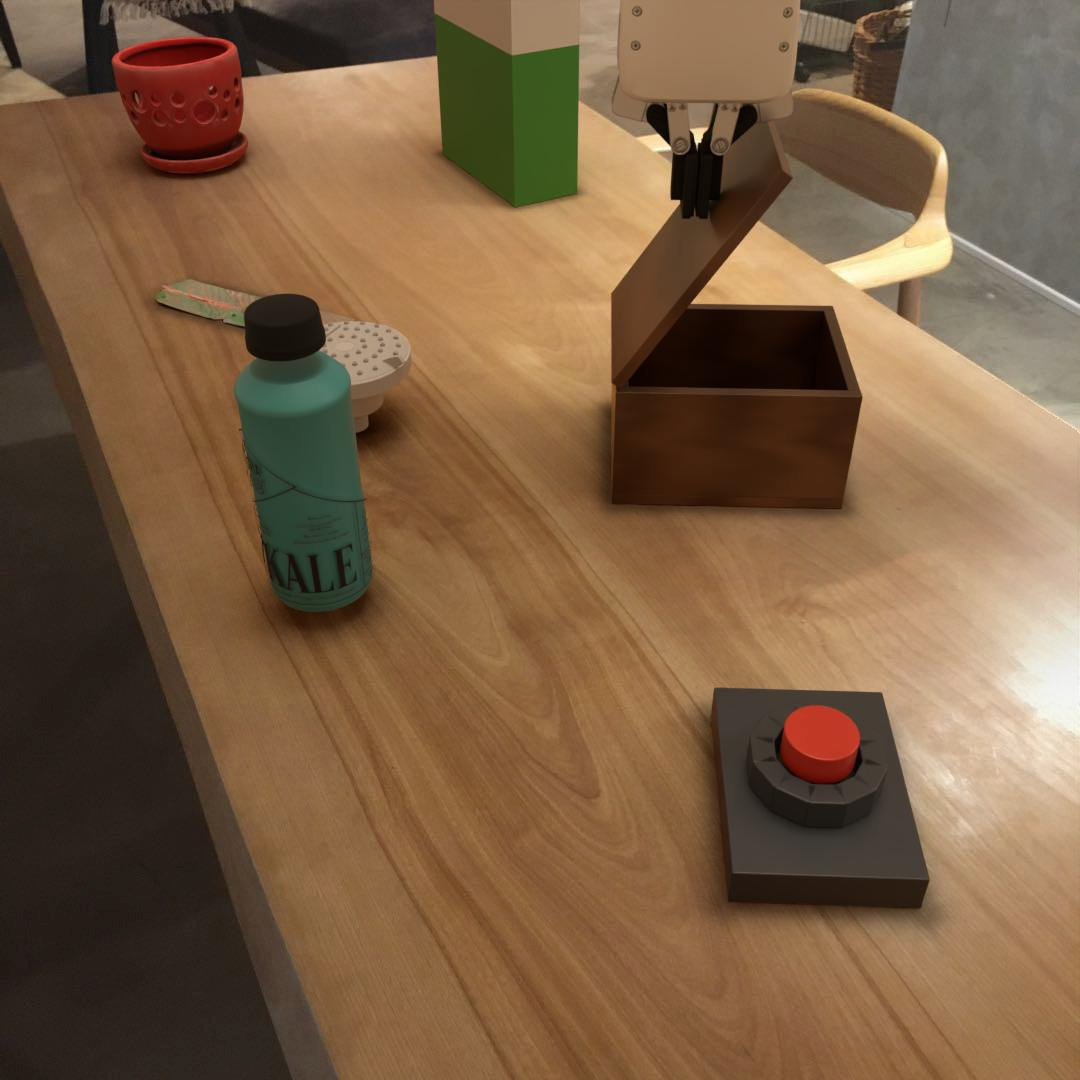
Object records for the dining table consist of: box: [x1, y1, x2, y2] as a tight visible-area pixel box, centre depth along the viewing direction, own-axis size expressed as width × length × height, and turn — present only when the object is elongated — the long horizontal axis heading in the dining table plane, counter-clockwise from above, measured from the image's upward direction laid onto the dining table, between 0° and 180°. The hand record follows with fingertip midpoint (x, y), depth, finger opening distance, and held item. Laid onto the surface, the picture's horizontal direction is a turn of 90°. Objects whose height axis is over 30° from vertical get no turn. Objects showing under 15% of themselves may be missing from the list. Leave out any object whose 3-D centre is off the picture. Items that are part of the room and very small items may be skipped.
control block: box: [710, 687, 931, 909], centre depth 59 cm, size 12×9×4 cm
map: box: [154, 278, 357, 327], centre depth 103 cm, size 5×20×1 cm, turn 63°
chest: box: [610, 303, 864, 509], centre depth 82 cm, size 16×13×9 cm
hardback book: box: [433, 0, 581, 208], centre depth 121 cm, size 18×7×24 cm, turn 29°
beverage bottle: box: [233, 293, 376, 613], centre depth 67 cm, size 6×7×20 cm
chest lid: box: [610, 120, 794, 388], centre depth 75 cm, size 17×13×1 cm
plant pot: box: [111, 36, 249, 175], centre depth 129 cm, size 13×13×12 cm
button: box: [780, 705, 860, 784], centre depth 57 cm, size 4×4×2 cm
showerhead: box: [319, 320, 412, 434], centre depth 86 cm, size 9×7×10 cm
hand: (693, 210), depth 74 cm, fingers closed
